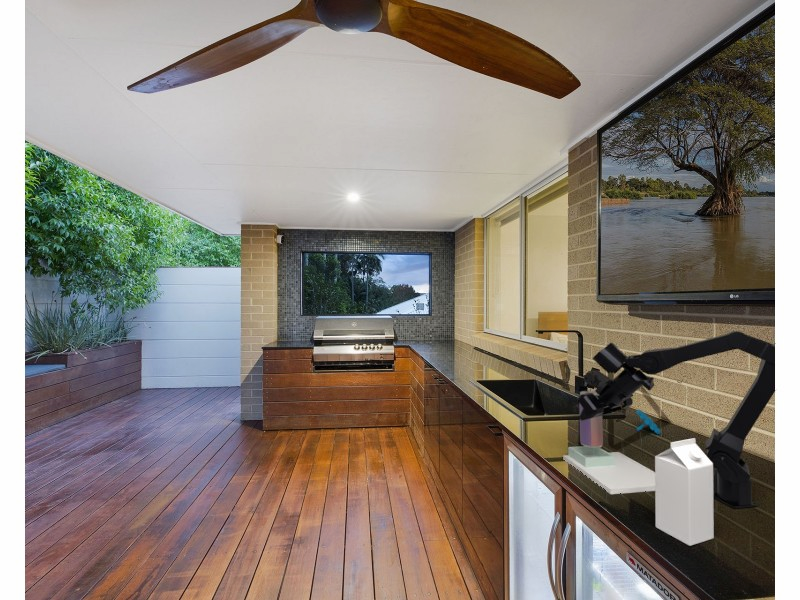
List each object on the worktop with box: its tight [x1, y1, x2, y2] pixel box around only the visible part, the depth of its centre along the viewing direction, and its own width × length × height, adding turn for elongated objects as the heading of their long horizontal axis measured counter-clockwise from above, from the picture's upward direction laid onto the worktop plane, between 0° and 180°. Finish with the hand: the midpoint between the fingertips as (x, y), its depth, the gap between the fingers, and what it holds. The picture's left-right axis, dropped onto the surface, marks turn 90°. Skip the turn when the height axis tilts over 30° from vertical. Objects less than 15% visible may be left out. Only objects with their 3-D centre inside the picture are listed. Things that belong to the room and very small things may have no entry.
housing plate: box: [562, 445, 655, 495], centre depth 113 cm, size 22×18×4 cm
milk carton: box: [654, 437, 715, 547], centre depth 84 cm, size 7×7×19 cm
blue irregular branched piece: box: [636, 409, 662, 435], centre depth 148 cm, size 11×6×10 cm
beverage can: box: [578, 390, 604, 448], centre depth 119 cm, size 6×6×15 cm
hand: (586, 417), depth 120 cm, fingers closed on beverage can, 6 cm apart
